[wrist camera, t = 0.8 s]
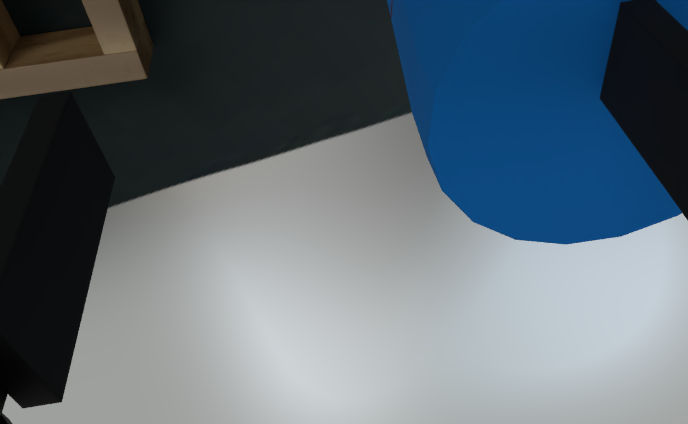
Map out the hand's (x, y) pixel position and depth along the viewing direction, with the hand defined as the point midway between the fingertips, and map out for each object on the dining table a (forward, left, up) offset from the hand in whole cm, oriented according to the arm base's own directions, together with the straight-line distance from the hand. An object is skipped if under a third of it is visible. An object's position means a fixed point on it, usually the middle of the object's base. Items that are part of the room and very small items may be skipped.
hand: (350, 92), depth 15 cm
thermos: (+3, +9, -25) cm, 27 cm away
